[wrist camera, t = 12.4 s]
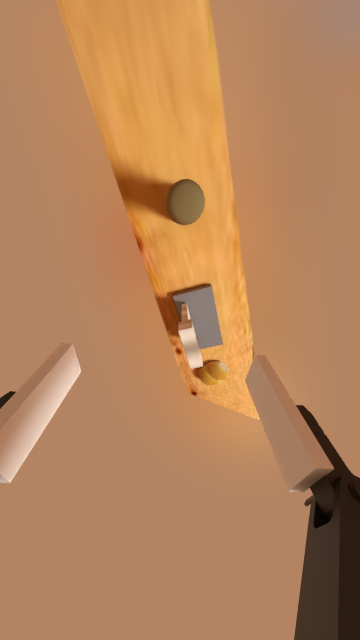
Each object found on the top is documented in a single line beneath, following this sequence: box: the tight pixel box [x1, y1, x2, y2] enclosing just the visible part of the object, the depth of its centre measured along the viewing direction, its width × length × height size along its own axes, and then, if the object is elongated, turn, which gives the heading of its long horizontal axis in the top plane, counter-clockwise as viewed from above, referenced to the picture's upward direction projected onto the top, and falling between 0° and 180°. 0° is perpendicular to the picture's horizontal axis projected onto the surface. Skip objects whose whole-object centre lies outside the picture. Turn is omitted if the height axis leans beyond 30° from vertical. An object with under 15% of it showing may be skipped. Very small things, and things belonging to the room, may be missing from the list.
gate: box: [178, 303, 203, 369], centre depth 38 cm, size 12×3×10 cm, turn 15°
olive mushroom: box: [167, 179, 204, 225], centre depth 27 cm, size 6×6×11 cm
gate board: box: [173, 284, 223, 349], centre depth 44 cm, size 17×9×2 cm, turn 16°
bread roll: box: [199, 361, 229, 385], centre depth 53 cm, size 8×9×4 cm
